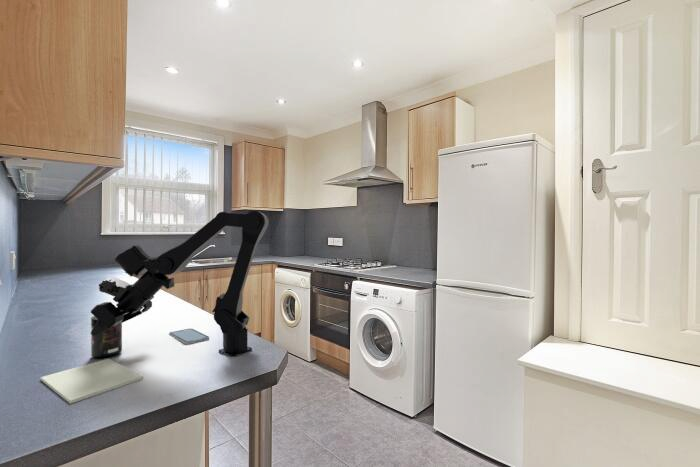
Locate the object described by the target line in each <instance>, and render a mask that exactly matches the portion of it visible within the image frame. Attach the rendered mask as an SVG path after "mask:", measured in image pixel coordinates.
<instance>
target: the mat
mask: <svg viewBox="0 0 700 467" xmlns="http://www.w3.org/2000/svg"><path fill="white" fill-rule="evenodd" d="M143 379H144V376H143V375H142V374H140V373H138V372H135V371H134V370H132V369H130V368H128V367H126V366H124V365H121V363H118V362H116V361H114V360H113V359H110V358H106V359H101V360H98V361H95V362H91V363H88V364H84V365H80V366H76V367H73V368H70V369H65V370H62V371H59V372H58V371H57V372H55V373H52V374H48V375H43V376H41V377H40V381H41V382H43V383H44V384H45V385H46V386H48V387H49V388H50V389H52V390H53V391H54V392H55V393H56V394H58V395H59V396H60V397H61V398H63V399H64V400H65V401H67V403H69V404H70V405H71V404H74V403H76V402H79V401H83V400H85V399H88V398H91V397H94V396H97V395H100V394H103V393H105V392H109V391H111V390H114V389H117V388H121V387H122V386H125V385H129V384H132V383H134V382H138V381H140V380H143Z"/></svg>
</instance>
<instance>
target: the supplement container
mask: <svg viewBox="0 0 700 467" xmlns="http://www.w3.org/2000/svg"><path fill="white" fill-rule="evenodd" d="M97 320H98V319H97V318H96V317H95V316H94V315H93V316H92V317H90V332H91V331H92V329H93V328H94V326H95V324H96V322H97ZM90 347H91V348H90V356H91V357H92V359H94V360H105V359H110V358H114V357H117V356H118V355H120V354H121V352H122V351H123V323H122V321H121V322H120V324H119V325H117V326H115V327H113V328H110V329H108V330H106V331H104V332H102V333H99V334H97V335H95V336H93V335H91V334H90Z"/></svg>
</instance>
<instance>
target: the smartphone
mask: <svg viewBox="0 0 700 467" xmlns="http://www.w3.org/2000/svg"><path fill="white" fill-rule="evenodd" d="M168 335H169V336H171V337H172V338H174V339H176V340H177V341H178V342H180V343H181V344H183V345H191V344H195V343H199V342H204V341H208V340H210V336H209V335H207V334H205V333H202V332H200V331H198V330H197V329H194V328H184V329H180V330H176V331H170V332H169V333H168Z"/></svg>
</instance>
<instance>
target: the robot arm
mask: <svg viewBox="0 0 700 467" xmlns="http://www.w3.org/2000/svg"><path fill="white" fill-rule="evenodd" d="M269 223H270V222H269V218H268V217H267V215H266V214H265V213H263V212H260V211H257V210H253V211H249V212H247V213H246V214H245V213H234V212H233V213H231V212H227V211H220V212H218V213H217V214H216V215H215V217H213V218H212V219H211V220H209V222H207V223H206V224H205V225H203V226H202V227H201V228H200V229H199V230H197V231H196V232H195V233H194V234H193V235H191V236H190V237H189V238H188V239H186V241H184V242H183V243H181V244H179V245H177V246H175V247H173V248H171V249H168V250H167V251H166V252H164V253H162V254H160V255H158V256H157V257H150V255H148V253H146V251H144V249H143V248H142V247H141V246H140V245H139V244H135V245H134V244H133V245H132V246H131V247H130V248H128V249H126V250H125V251H123V252H121V253H119V254H118V255H116V257H115V258H114V261H113V262H114V263H116V264H117V265H118V267H120V268H121V269H122V270H123V271H124V272H125V273H126V274H127V275H128V276H129V277H134V276H135V277H137V278H138V277H139V278H138V279H137V280H136V281H135V282H134V283H133V284H130V283H129V282H127V281H124V280H122V279H120V278H119V277H118V278H117V277H108V278H105V279H104V280H102V282H101V283H98V289H99V292H101V293H104V294H106V295H110V296H112V297H113V298H112V300H113V301H114V302H115V304H114V303H113V302H111V301H108V302H107V301H106V302H101V303H99V304H96V305H95V306H94V307H93V308H92V309H91V310H90V313H91V314H92V315H93V316H95V317H96V318H97V319H98V320H97V322H96V324H95V326H94V328H93V329H92V331H91V330H90V336H91V335H93V336H95V335H97V334H99V333H102V332H104V331H106V330H108V329H110V328H113V327H115V326H117V325H119V324H120V322H121V321H122V324H123V323H125V322H127V321H129V320H131V319H134V318H136V317H139V316H141V315H142V314H143V313H146V312H148V311H149V310H150V309H151V308H152V307H153V301H152V300H154V298H155V295H156V294H157V293H158V292H159V291H160V290H161V289H162V288H163V287H164V288H165V289H166V290H168V289H171V288H174V287H175V281H174V280H175V278H174V277H170V276H169V275H173V274H177V273H180V272H182V271H183V270H184V269H185V268H187V266H188V265H189V264H190V262H191V261H192V260H193V258H194V257H195V255H196V254H197V253H198V252H199V251H200V250H201V249H203V248H204V247H206V245H208V244H209V243H210V242H211V241H212V240H214V239H215V238H216V237H217V236H219V235H220V234H221V233H223V231H225V229H227V228H228V227H233V228H235V227H236V228H241V244H240V247H239V250H238V253H237V257H236V259H235V264H234V267H233V269H232V273H231V277H230V280H229V283H228V286H227V290H226V291H225V292H223V293H221V294H220V295H218V296H217V297H216V300H215V305H214V308H213V310H212V313H213V320H214V321H215V323H216V324H217V325H218V326H219V328H220V330H221V332H222V347H223V348H220V349H218V353H220V354H224V355H225V356H229V357H237V356H239V355H241V354H245V353H247V352H250V351H252V350H253V348H252V347H251V346H248V328H247V327H246V326H248V324H249V321H250V317H249V315H247V314H246V313H245V312H244V311H243V299H244V298H243V297H244V296H243V292H244V289H245V286H246V282H247V279H248V276H249V273H250V268H251V266H252V262H253V259H254V256H255V253H256V249H257V247H258V244H259V243H260V241H261V240H262V238H263V236H264V234H265V232H266V231H267V228H268V227H269Z"/></svg>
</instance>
